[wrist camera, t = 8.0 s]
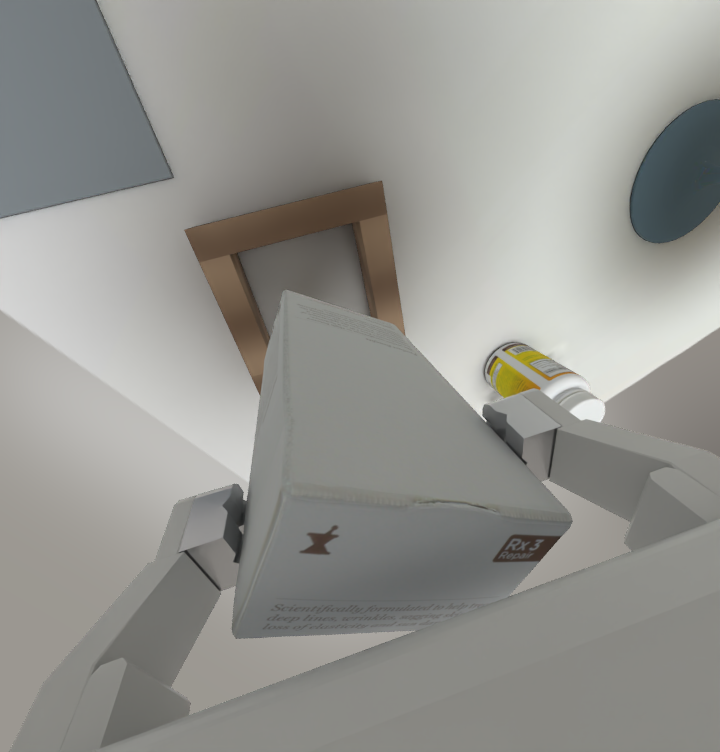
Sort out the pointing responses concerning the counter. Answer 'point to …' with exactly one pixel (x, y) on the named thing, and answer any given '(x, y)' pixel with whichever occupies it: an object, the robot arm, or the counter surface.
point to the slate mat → (67, 109)
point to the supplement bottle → (542, 380)
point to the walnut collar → (286, 222)
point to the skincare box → (376, 488)
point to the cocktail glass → (679, 176)
